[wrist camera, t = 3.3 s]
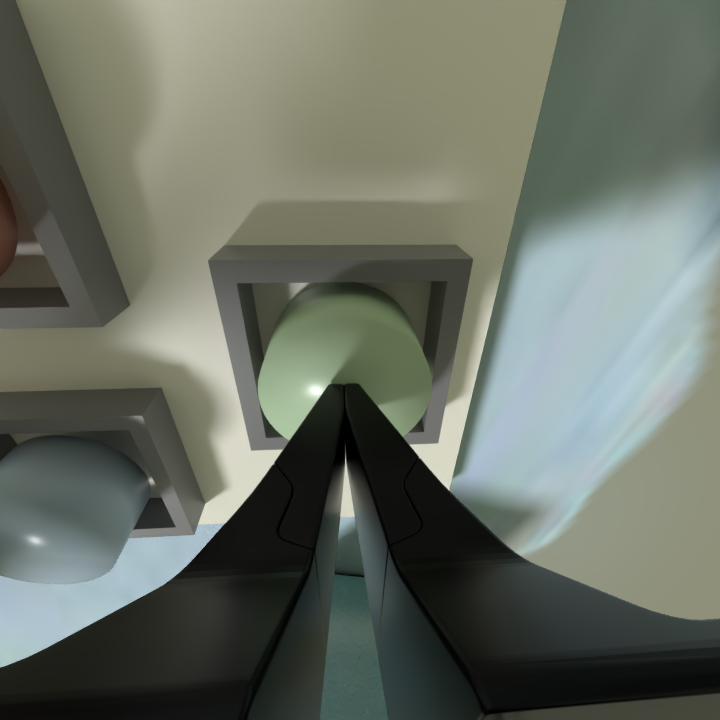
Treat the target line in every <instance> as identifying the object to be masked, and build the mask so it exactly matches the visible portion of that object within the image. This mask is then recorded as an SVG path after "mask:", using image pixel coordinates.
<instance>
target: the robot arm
mask: <svg viewBox="0 0 720 720" xmlns="http://www.w3.org/2000/svg"><path fill="white" fill-rule="evenodd" d="M345 450H346V465H347V472H348V478H349V484H350V490H351V496H352V502H353V509H354V515H355V521H356V527H357V533H358V539H359V545H360V551H361V557H362V563H363V569H364V575H365V581H366V587H367V594H368V600H369V606H370V612H371V618H372V624H373V630H374V636H375V642H376V648H377V652H378V661H379V667H380V673H381V679H382V685H383V691H384V697H385V703H386V709H387V715H388V720H720V619H707V620H691V619H684V618H678V617H672V616H668V615H665V614H660V613H657V612H654V611H651V610H648V609H645V608H642V607H640V606H637V605H635V604H632V603H630V602H627V601H625V600H622V599H619V598H617V597H615V596H612V595H610V594H607V593H605V592H602V591H600V590H598V589H595V588H593V587H590V586H588V585H585V584H582V583H580V582H578V581H575V580H573V579H570V578H568V577H565V576H563V575H560V574H558V573H556V572H553V571H551V570H548V569H546V568H543V567H541V566H538V565H535V564H533V563H531V562H530V561H528V560H526V559H524V558H523V557H521V556H520V555H518V554H517V553H515V552H514V551H513V550H512V549H510V548H509V547H508V546H507V545H505V544H504V543H503V542H502V541H501V540H500V539H499V538H498V537H497V536H496V535H495V534H494V533H493V532H491V531H490V530H489V529H488V528H487V527H486V526H485V525H484V524H483V523H482V522H481V521H480V520H479V519H478V518H477V517H476V516H475V515H474V514H473V513H472V512H471V511H470V510H469V509H468V508H466V507H465V506H464V505H463V504H462V503H461V502H460V501H459V500H458V499H457V498H456V497H455V496H454V495H453V494H452V493H451V492H450V491H449V490H448V489H447V488H446V487H445V486H444V485H443V484H442V483H441V482H440V480H439V479H438V478H437V477H436V476H435V475H434V474H433V472H432V471H431V470H430V469H429V468H428V467H427V465H426V464H425V463H424V462H423V460H422V459H421V458H419V456H418V455H417V453H416V452H415V451H414V450H413V449H412V447H411V446H410V445H409V444H408V442H407V441H406V440H405V439H404V438H403V436H402V435H401V434H400V433H399V432H398V430H397V429H396V428H395V427H394V425H393V424H392V423H391V422H390V421H389V419H388V418H387V417H386V416H385V415H384V413H383V412H382V411H381V410H380V409H379V407H378V406H377V405H376V404H375V402H374V401H373V400H372V399H371V398H370V396H369V395H368V394H367V393H366V392H365V390H364V389H363V388H362V387H361V385H360V384H358V383H347V384H345V385H343V384H329V385H328V386H327V387H326V389H325V390H324V392H323V393H322V394H321V396H320V397H319V399H318V400H317V402H316V403H315V404H314V406H313V407H312V409H311V410H310V412H309V413H308V415H307V416H306V417H305V419H304V420H303V422H302V423H301V425H300V426H299V427H298V429H297V430H296V432H295V433H294V435H293V436H292V437H291V439H290V440H289V442H288V443H287V445H286V446H285V447H284V449H283V450H282V452H281V453H280V455H279V456H278V457H277V459H276V460H275V462H274V464H273V465H272V466H271V467H270V469H269V470H268V472H267V473H266V474H265V476H264V477H263V479H262V480H261V481H260V483H259V484H258V485H257V487H256V488H255V489H254V491H253V492H252V493H251V494H250V495H249V497H248V498H247V499H246V500H245V501H244V503H243V504H242V505H241V506H240V507H239V508H238V510H237V511H236V512H235V513H234V514H233V515H232V516H231V518H230V519H229V520H228V521H227V522H226V523H225V524H224V525H223V527H222V528H221V529H220V530H219V531H218V532H217V533H216V534H215V535H214V537H213V538H212V539H211V540H210V541H209V542H208V543H207V544H206V546H205V547H204V548H203V549H202V550H201V551H200V552H199V553H198V555H197V556H196V557H195V558H194V559H193V560H192V561H191V562H190V563H189V564H188V565H187V566H186V567H185V568H184V569H183V570H182V571H181V572H180V573H179V574H177V575H176V576H175V577H174V578H172V579H171V580H170V581H168V582H167V583H166V584H164V585H163V586H161V587H159V588H158V589H156V590H154V591H152V592H150V593H148V594H146V595H145V596H143V597H141V598H139V599H137V600H135V601H133V602H132V603H130V604H128V605H126V606H124V607H122V608H120V609H119V610H117V611H115V612H113V613H111V614H109V615H107V616H105V617H104V618H102V619H100V620H98V621H96V622H94V623H92V624H91V625H89V626H87V627H85V628H83V629H81V630H79V631H78V632H76V633H74V634H72V635H70V636H68V637H66V638H65V639H63V640H61V641H59V642H57V643H55V644H53V645H51V646H50V647H48V648H46V649H44V650H42V651H40V652H38V653H36V654H34V655H31V656H29V657H27V658H25V659H22V660H20V661H17V662H15V663H12V664H10V665H7V666H4V667H1V668H0V720H320V713H321V703H322V693H323V683H324V673H325V663H326V653H327V643H328V633H329V623H330V613H331V603H332V593H333V583H334V573H335V563H336V553H337V543H338V534H339V524H340V514H341V504H342V494H343V484H344V474H345Z"/></svg>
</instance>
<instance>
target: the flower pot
mask: <svg viewBox="0 0 720 720" xmlns="http://www.w3.org/2000/svg"><path fill="white" fill-rule="evenodd" d="M320 720H388V715H387V709H386V703H385V697H384V691H383V685H382V679H381V673H380V667H379V661H378V652H377V648H376V642H375V636H374V630H373V624H372V618H371V612H370V606H369V600H368V594H367V587H366V581H365V577H355V576H345V575H336V574H334V583H333V593H332V603H331V613H330V623H329V633H328V643H327V653H326V663H325V673H324V683H323V693H322V703H321V713H320Z"/></svg>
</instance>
